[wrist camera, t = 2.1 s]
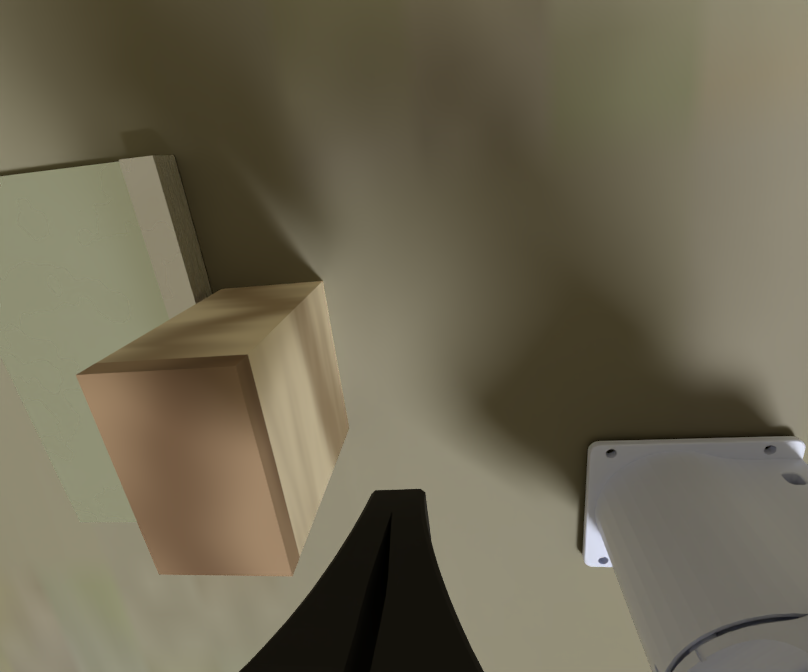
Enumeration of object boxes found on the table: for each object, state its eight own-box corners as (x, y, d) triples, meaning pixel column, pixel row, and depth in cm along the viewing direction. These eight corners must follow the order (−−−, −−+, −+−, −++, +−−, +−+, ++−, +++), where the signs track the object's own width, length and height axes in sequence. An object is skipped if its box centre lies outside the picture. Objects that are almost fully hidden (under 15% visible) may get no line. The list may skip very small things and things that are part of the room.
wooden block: (323, 280, 21) (235, 366, 13) (349, 427, 24) (292, 576, 15) (221, 288, 22) (75, 374, 13) (259, 430, 24) (159, 574, 16)
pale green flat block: (174, 154, 19) (152, 155, 18) (273, 517, 27) (263, 538, 25) (-74, 186, 21) (-112, 188, 20) (83, 518, 28) (64, 537, 27)
